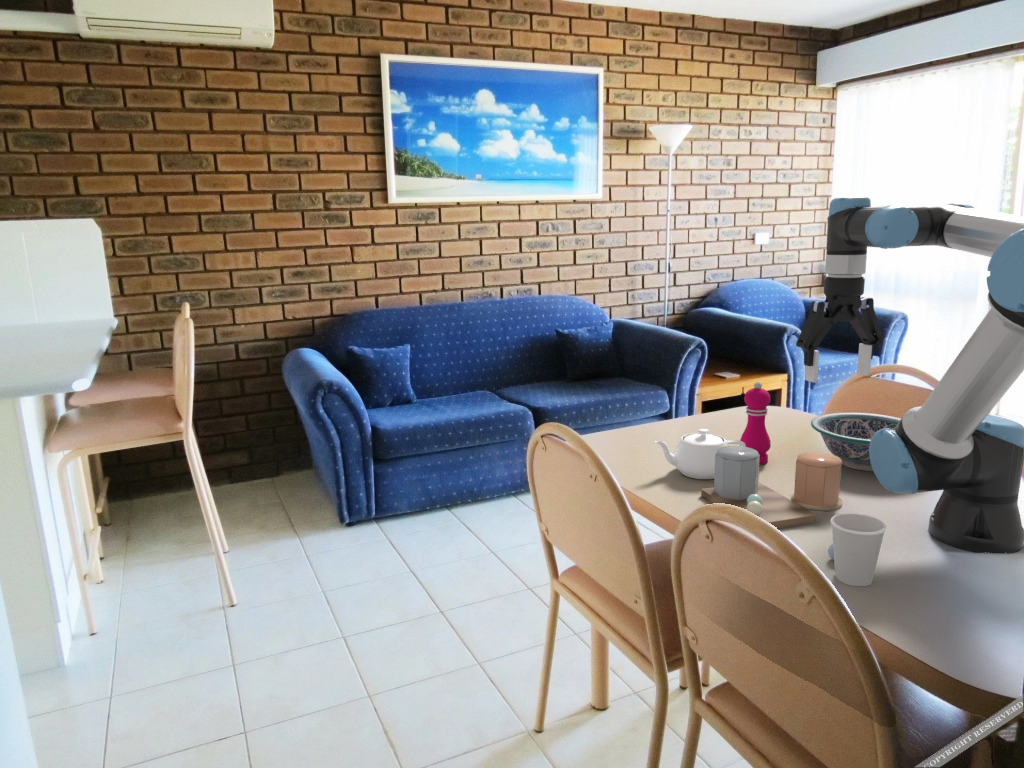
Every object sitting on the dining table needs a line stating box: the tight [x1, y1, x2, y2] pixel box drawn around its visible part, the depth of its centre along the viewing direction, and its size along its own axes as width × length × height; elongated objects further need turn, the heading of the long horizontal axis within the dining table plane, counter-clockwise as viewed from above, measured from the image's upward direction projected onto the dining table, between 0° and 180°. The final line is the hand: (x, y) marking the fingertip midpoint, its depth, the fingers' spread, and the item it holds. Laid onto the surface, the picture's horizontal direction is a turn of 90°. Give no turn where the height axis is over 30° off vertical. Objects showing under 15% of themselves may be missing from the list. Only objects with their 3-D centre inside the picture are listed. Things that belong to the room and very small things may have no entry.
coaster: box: [790, 492, 843, 512], centre depth 155 cm, size 10×10×1 cm
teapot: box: [654, 428, 746, 480], centre depth 173 cm, size 22×14×11 cm, turn 95°
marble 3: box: [827, 544, 834, 561], centre depth 129 cm, size 3×3×3 cm
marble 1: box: [747, 494, 762, 505], centre depth 148 cm, size 3×3×3 cm
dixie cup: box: [829, 512, 887, 587], centre depth 122 cm, size 8×8×10 cm
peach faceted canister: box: [793, 451, 843, 507], centre depth 154 cm, size 8×8×9 cm
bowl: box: [810, 411, 902, 472], centre depth 176 cm, size 25×25×10 cm
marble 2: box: [747, 501, 763, 516], centre depth 145 cm, size 3×3×3 cm
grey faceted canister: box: [713, 445, 760, 500], centre depth 157 cm, size 8×8×9 cm
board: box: [700, 481, 818, 529], centre depth 153 cm, size 20×14×2 cm
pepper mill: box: [739, 381, 772, 466], centre depth 179 cm, size 7×7×20 cm
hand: (837, 378), depth 153 cm, fingers open, 13 cm apart
